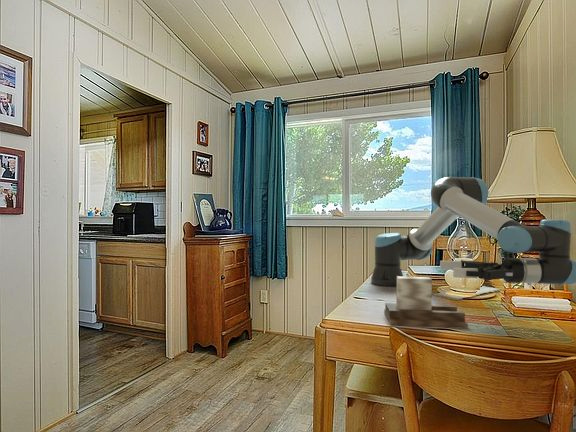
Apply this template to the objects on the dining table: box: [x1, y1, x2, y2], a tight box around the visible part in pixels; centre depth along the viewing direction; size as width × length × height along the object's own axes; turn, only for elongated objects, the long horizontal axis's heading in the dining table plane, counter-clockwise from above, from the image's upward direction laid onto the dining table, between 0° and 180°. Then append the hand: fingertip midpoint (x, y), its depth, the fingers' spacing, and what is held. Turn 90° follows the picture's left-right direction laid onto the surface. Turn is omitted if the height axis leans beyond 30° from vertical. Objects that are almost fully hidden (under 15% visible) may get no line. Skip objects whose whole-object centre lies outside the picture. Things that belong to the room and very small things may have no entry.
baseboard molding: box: [432, 283, 501, 301], centre depth 156 cm, size 31×3×12 cm
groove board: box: [383, 302, 469, 329], centre depth 118 cm, size 22×14×4 cm, turn 83°
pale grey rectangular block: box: [395, 275, 433, 310], centre depth 118 cm, size 10×4×12 cm, turn 83°
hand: (446, 268), depth 116 cm, fingers open, 13 cm apart
